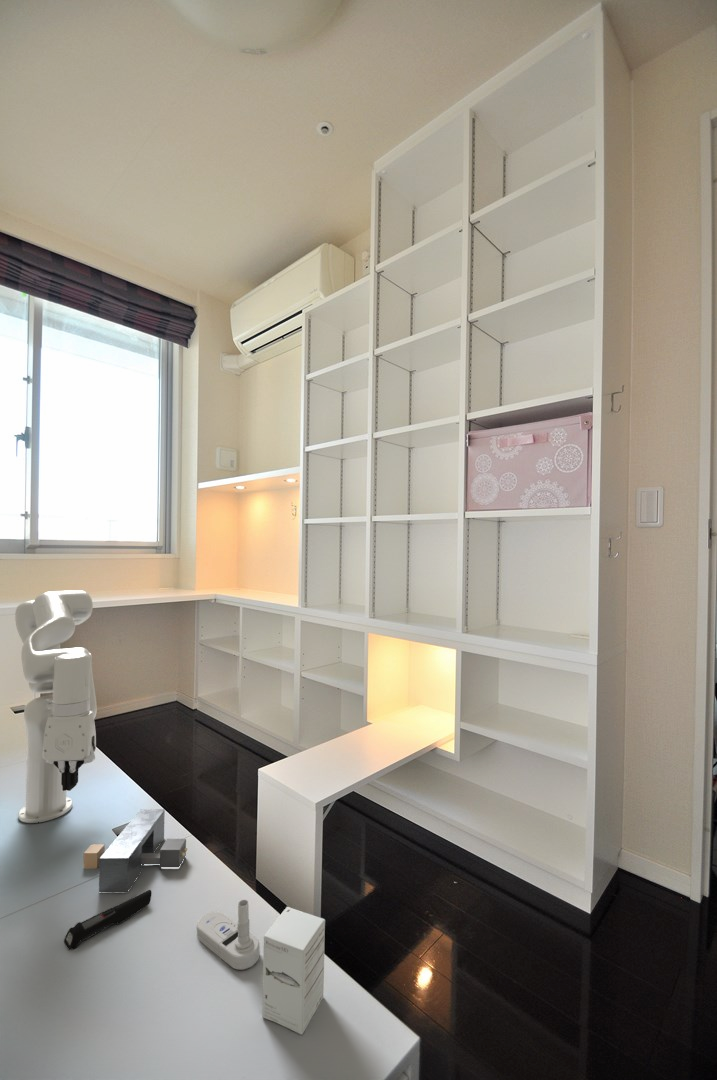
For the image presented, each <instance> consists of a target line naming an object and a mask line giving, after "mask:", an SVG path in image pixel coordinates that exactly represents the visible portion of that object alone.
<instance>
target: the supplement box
mask: <svg viewBox="0 0 717 1080" xmlns="http://www.w3.org/2000/svg"><path fill="white" fill-rule="evenodd" d="M325 926H326V919H325V918H323V917H320V916H316V915H314V914H311V913H308V912H305V911H301V910H298V909H296V908H293V907H289V906H286V907H285V909H283V911H282V912H281V914H279V916H278V917H277V918H276V920H274V922H273V924H272V925H271V926H270V927H269V928H268V930H267V931H266V932H265V933H264V935H263V957H262V959H263V962H262V963H263V964H262V1002H261V1003H262V1006H261V1007H262V1009H261V1013H262V1014H261V1016H262V1018H263V1019H266V1020H269V1021H272V1022H273V1023H276V1024H278V1025H280V1026H283V1027H285V1028H286V1029H288V1030H291V1031H293V1032H295V1033H296V1034H298V1035H301V1036H302V1035H303V1034H304V1032H305V1031H306V1029H307V1027H308V1025H309V1024H310V1022H311V1021H312V1019H313V1017H314V1015H315V1013H316V1011H317V1010H318V1008H319V1006H320V1004H321V1002H322V1000H323V999H324V989H325V987H324V984H325V981H324V980H325V940H326V939H325V933H326V932H325V930H326V927H325Z"/></svg>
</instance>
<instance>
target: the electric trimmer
mask: <svg viewBox="0 0 717 1080" xmlns="http://www.w3.org/2000/svg"><path fill="white" fill-rule="evenodd" d="M151 899H152V890H151V889H148V890H146V891H143V892H142V893H140V894H138V895H135V896H133V897H131V898H129V899H127V900H124V901H123V902H121V903H118V904H117V905H114V906H112V907H110V908H108V909H106V910H103V911H102V912H99V913H98V914H96V915H93V916H91V917H89V918H87V919H85V920H83V921H79V922H77V923H76V924H75V925H74V926H73V927H70V928H69V929H68V930H67V932H66V934H65V936H64V939H63V940H64V941H63V942H64V945H65V946H66V948H67V949H68V951H70V950H72V949H73V950H75V949H77V947H78V945H79V944H80V943H81V942H84V941H85V940H87V939H89V938H90V937H93V936H94V935H96V934H98V933H100V932H101V931H104V930H105V929H107V928H108V927H110V926H113V925H117V924H122V923H123V922H124V921H126V920H128V919H129V918H131V917H132V916H134V915H135V914H137V913H138V912H140V911H141V910H143V909H144V908H146V907H147V906H148V905H149V904H150V902H151Z"/></svg>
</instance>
